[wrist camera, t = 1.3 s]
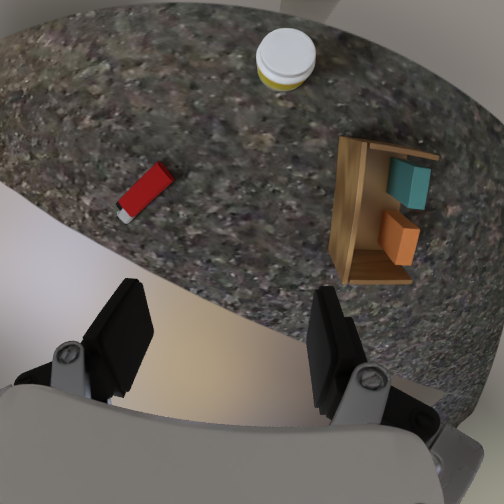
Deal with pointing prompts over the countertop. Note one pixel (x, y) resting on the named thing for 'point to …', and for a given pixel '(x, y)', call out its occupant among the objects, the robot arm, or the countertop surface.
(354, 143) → the wooden crate
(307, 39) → the supplement bottle
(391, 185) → the block
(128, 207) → the lighter
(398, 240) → the block
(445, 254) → the countertop surface
